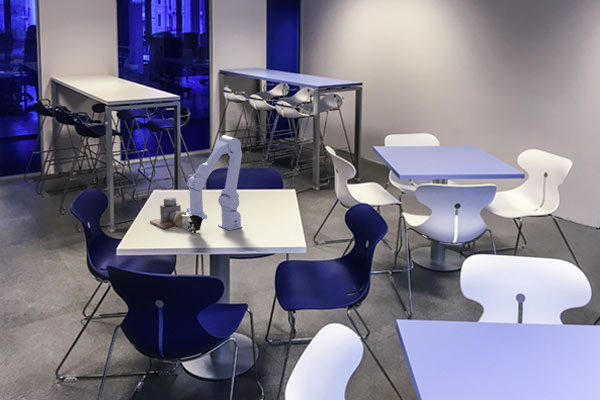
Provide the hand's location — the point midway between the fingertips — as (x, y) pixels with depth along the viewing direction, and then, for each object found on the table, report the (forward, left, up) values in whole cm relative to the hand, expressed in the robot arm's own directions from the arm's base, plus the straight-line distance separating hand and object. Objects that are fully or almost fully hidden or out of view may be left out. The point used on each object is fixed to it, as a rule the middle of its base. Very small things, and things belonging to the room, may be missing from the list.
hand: (197, 230), depth 294 cm
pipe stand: (+23, 0, -2) cm, 23 cm away
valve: (+8, 0, -2) cm, 8 cm away
